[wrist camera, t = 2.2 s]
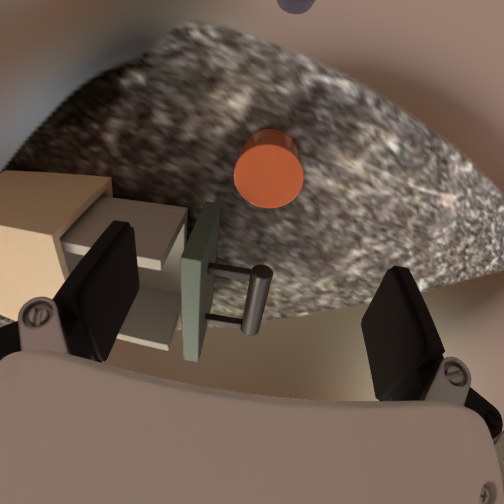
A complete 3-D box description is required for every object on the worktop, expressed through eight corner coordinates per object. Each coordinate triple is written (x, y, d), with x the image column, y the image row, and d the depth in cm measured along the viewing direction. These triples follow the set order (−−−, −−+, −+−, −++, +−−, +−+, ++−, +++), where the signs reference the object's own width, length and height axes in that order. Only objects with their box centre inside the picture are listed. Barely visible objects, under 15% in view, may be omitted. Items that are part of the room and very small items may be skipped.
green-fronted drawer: (279, 212, 22) (279, 273, 16) (257, 309, 28) (252, 371, 22) (75, 185, 21) (26, 228, 16) (93, 278, 27) (63, 327, 22)
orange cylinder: (239, 128, 19) (231, 144, 16) (300, 129, 19) (305, 144, 16) (242, 182, 21) (235, 208, 18) (298, 183, 21) (302, 209, 18)
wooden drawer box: (111, 177, 22) (51, 235, 15) (124, 283, 28) (90, 349, 22) (5, 170, 21) (-52, 213, 15) (29, 260, 28) (-10, 310, 21)
